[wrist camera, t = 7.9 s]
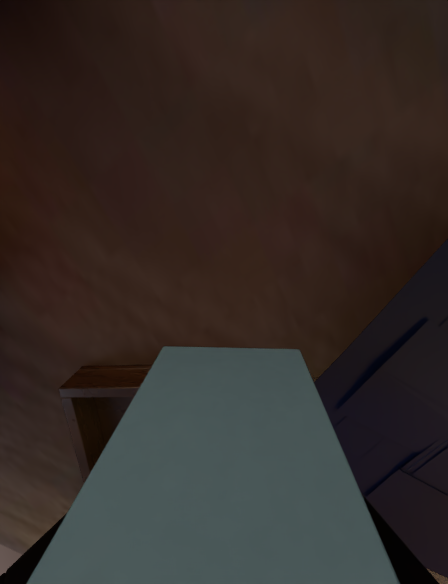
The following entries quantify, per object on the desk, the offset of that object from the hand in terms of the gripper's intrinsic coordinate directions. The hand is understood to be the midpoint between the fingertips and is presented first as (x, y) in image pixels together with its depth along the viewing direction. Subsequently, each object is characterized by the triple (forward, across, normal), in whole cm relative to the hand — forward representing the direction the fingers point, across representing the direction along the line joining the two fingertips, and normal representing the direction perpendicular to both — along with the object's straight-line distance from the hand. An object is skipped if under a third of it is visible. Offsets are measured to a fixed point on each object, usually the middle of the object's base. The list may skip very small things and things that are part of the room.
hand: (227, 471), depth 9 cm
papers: (+13, -18, +9) cm, 24 cm away
